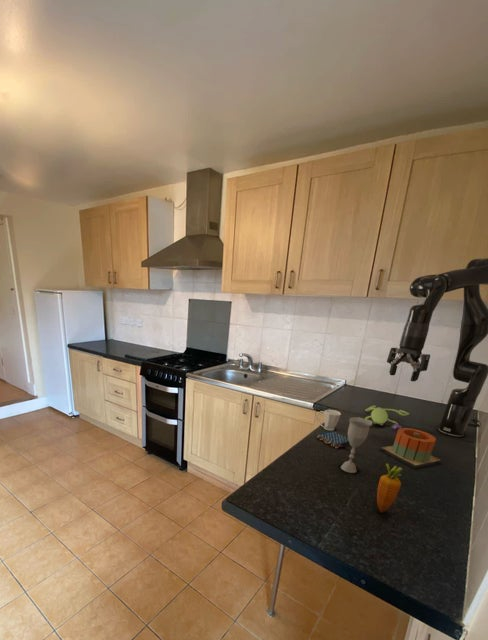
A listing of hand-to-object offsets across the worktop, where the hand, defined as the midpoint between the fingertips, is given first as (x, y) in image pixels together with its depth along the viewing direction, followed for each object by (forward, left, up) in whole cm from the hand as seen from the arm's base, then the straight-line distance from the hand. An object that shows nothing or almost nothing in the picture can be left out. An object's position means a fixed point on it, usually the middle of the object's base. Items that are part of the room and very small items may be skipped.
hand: (402, 378), depth 125 cm
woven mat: (+18, -8, -29) cm, 35 cm away
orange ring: (-1, +10, -23) cm, 25 cm away
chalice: (+30, +10, -29) cm, 43 cm away
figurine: (-23, -20, -29) cm, 42 cm away
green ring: (-1, +10, -27) cm, 29 cm away
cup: (+11, -21, -29) cm, 37 cm away
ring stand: (-1, +10, -29) cm, 30 cm away
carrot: (+40, +31, -29) cm, 58 cm away
